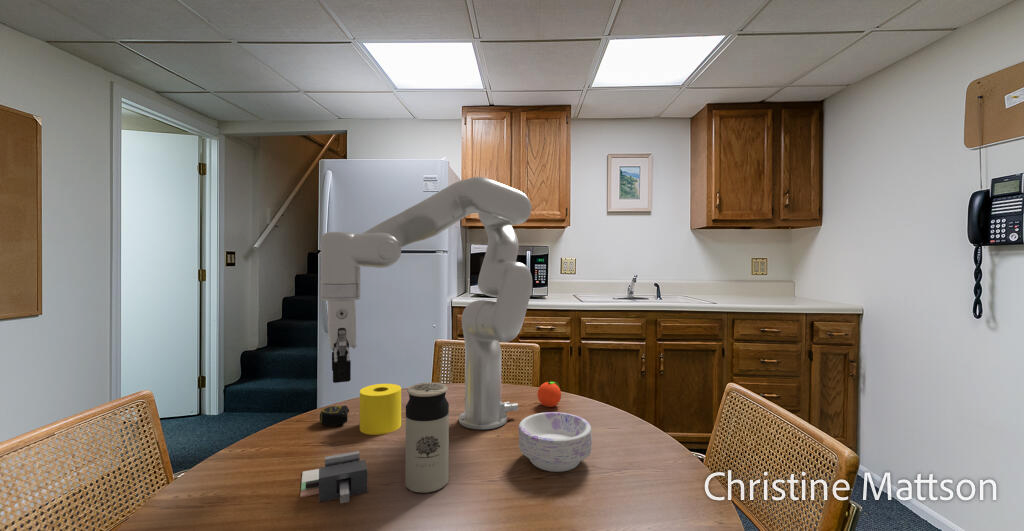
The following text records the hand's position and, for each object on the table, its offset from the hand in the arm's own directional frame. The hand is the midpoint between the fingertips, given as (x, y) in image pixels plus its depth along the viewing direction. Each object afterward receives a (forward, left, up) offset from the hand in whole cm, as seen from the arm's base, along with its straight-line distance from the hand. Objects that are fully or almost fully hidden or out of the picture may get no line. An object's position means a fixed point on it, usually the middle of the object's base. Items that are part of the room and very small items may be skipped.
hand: (340, 375), depth 86 cm
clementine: (-57, -13, -18) cm, 61 cm away
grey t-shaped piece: (+2, +13, -18) cm, 22 cm away
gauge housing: (0, +12, -18) cm, 22 cm away
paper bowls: (-41, +17, -19) cm, 48 cm away
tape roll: (-10, -17, -19) cm, 27 cm away
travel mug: (-15, +15, -18) cm, 28 cm away
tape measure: (0, -24, -19) cm, 31 cm away
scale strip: (+5, +6, -18) cm, 20 cm away
